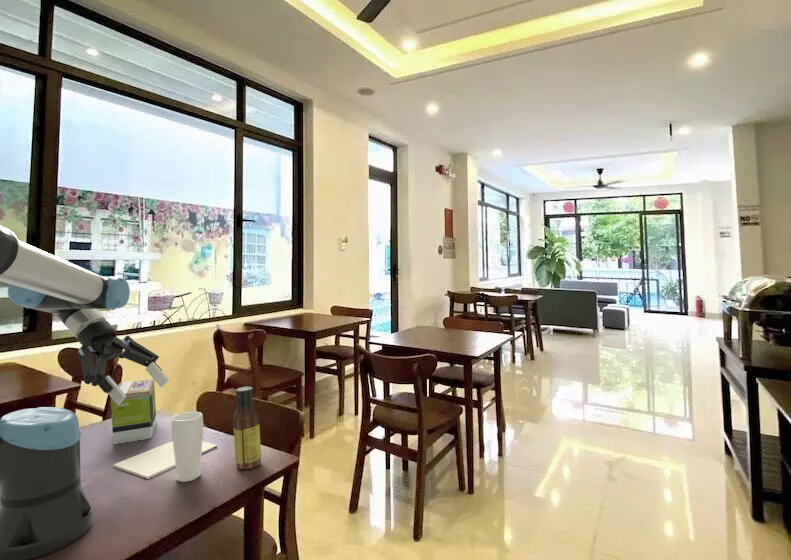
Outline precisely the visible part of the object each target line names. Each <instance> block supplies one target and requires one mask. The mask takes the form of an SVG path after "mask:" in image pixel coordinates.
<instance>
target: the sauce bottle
mask: <svg viewBox="0 0 791 560" xmlns="http://www.w3.org/2000/svg"><path fill="white" fill-rule="evenodd" d="M253 393H254V388H253V387H252V386H243V387H242V386H241V387H238V388H236V390H235V395H236V401H237V404H236V407H237V408H236V409H235V412H234V414H233V419H232V420H233V440H234V458H235V459H234V461H235V465H236V467H237V469H239V470H245V471H247V470H251V469H255V468H257V467H258V466H260V464H261V462H262V460H261V457H262V450H261V449H262V448H261V433H260V432H261V430H260V418H259V415H258V414H259V413H258V412H257V411H256V408H255V406H254V399H253V398H254V397H253Z"/></svg>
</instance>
